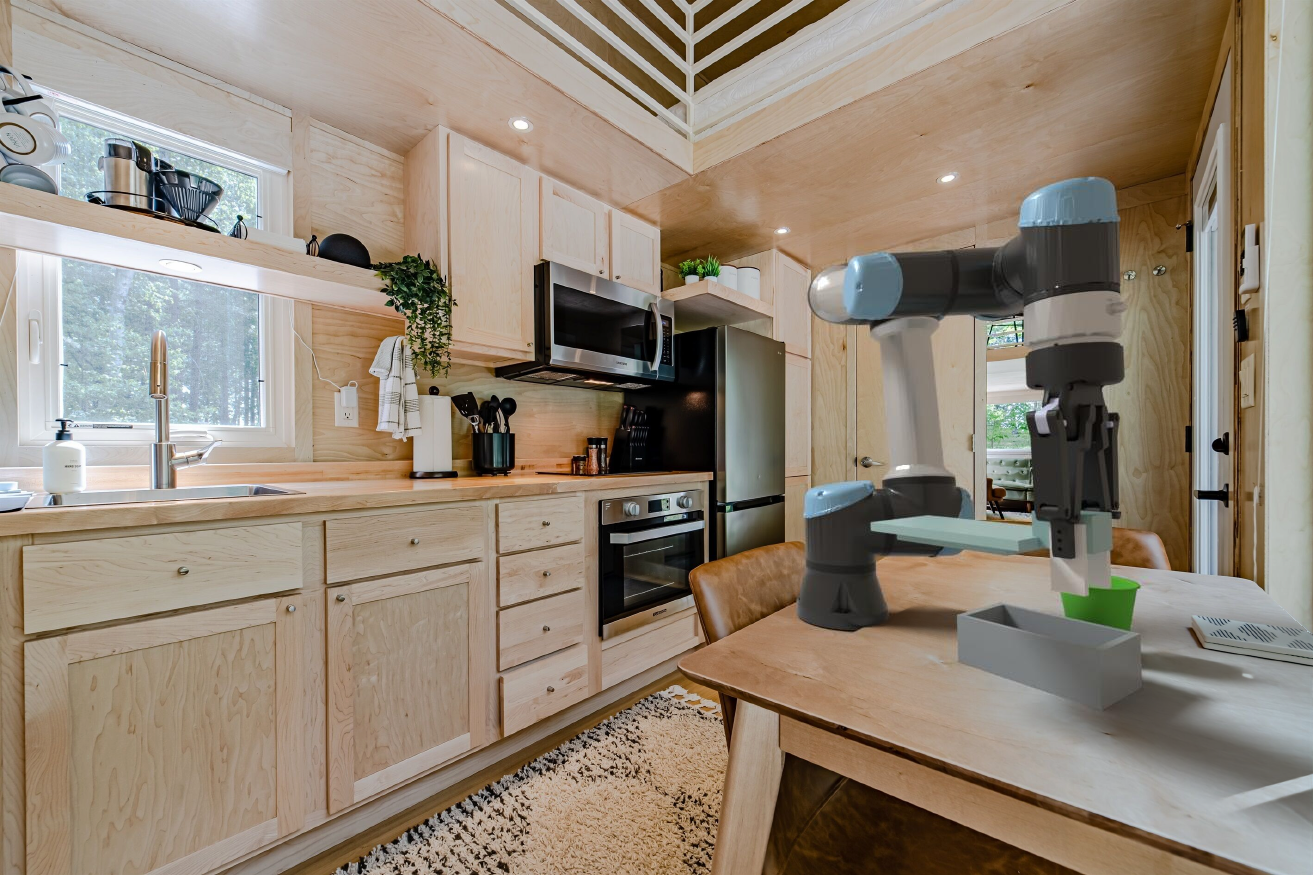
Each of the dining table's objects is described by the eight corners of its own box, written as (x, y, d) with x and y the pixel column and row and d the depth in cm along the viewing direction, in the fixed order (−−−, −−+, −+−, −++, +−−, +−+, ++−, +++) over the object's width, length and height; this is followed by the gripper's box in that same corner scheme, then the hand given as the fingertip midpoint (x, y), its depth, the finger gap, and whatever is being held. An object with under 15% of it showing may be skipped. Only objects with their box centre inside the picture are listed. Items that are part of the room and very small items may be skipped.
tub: (958, 667, 71) (956, 614, 71) (1001, 651, 76) (1000, 602, 77) (1101, 717, 58) (1099, 652, 58) (1142, 693, 63) (1140, 633, 63)
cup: (1162, 678, 67) (1158, 589, 67) (1079, 673, 69) (1076, 587, 69) (1116, 651, 76) (1113, 573, 76) (1043, 647, 78) (1041, 571, 78)
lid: (871, 538, 65) (870, 501, 65) (928, 530, 71) (927, 496, 71) (1074, 570, 47) (1072, 519, 47) (1130, 555, 53) (1128, 509, 53)
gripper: (1075, 329, 44) (1087, 613, 44) (1157, 346, 53) (1168, 584, 52) (982, 346, 51) (991, 593, 50) (1069, 358, 59) (1077, 570, 59)
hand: (1081, 588), depth 51 cm, fingers closed on lid, 4 cm apart
